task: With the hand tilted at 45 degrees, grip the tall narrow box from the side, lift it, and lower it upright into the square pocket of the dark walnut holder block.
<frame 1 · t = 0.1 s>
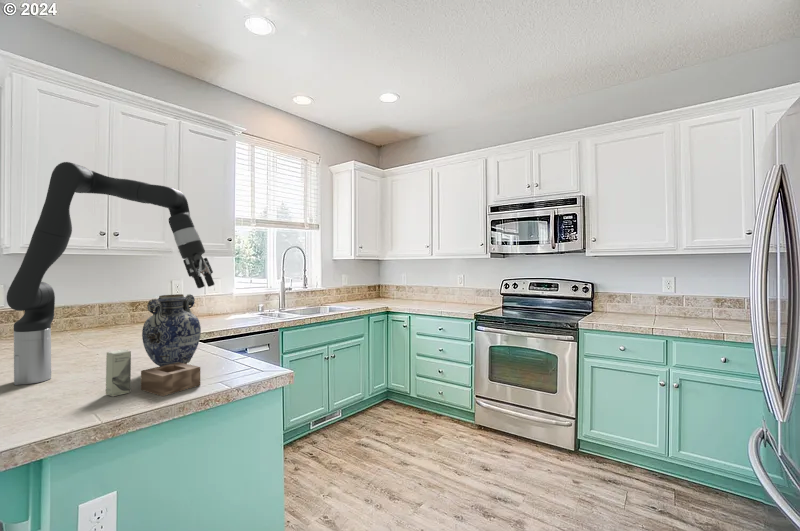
hand: (206, 286, 138), 31 cm above the countertop, tool tilted 20°, fingers open, 8 cm apart
decorative vase: (172, 371, 145), on the countertop
holder block: (171, 387, 126), on the countertop
box: (118, 394, 121), on the countertop
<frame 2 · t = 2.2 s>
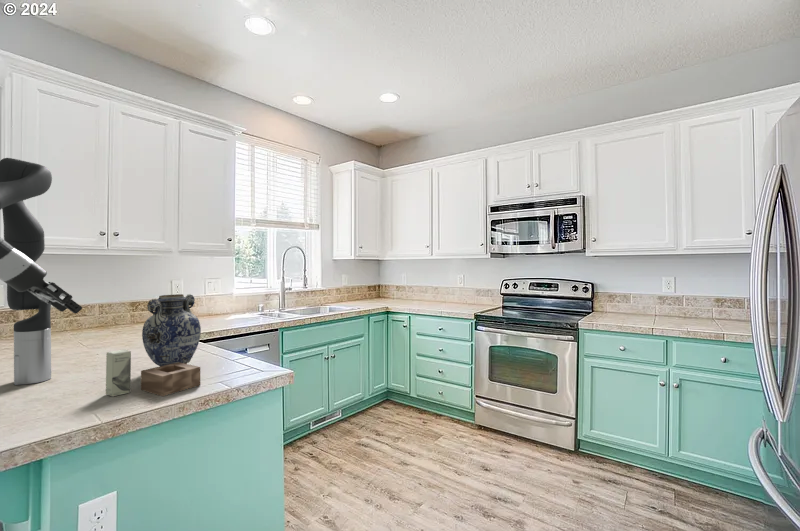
hand: (72, 310, 110), 27 cm above the countertop, tool tilted 45°, fingers open, 8 cm apart
nothing on the countertop moved.
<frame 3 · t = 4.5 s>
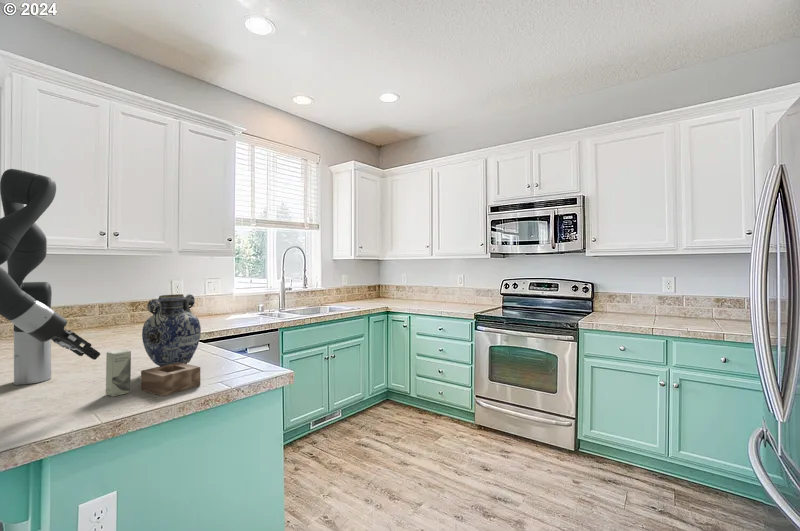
hand: (90, 355, 114), 13 cm above the countertop, tool tilted 45°, fingers open, 8 cm apart
nothing on the countertop moved.
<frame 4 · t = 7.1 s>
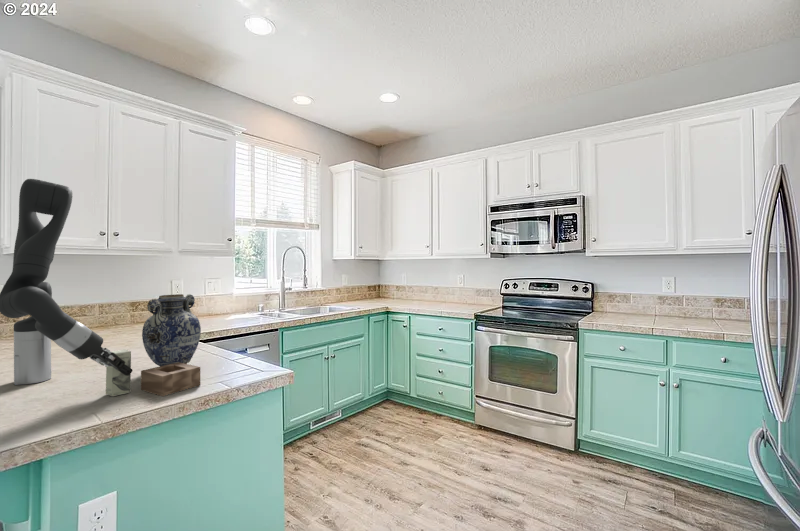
hand: (125, 371, 122), 6 cm above the countertop, tool tilted 45°, fingers closed on box, 4 cm apart
box: (118, 394, 121), on the countertop, touching gripper
everything else where it was.
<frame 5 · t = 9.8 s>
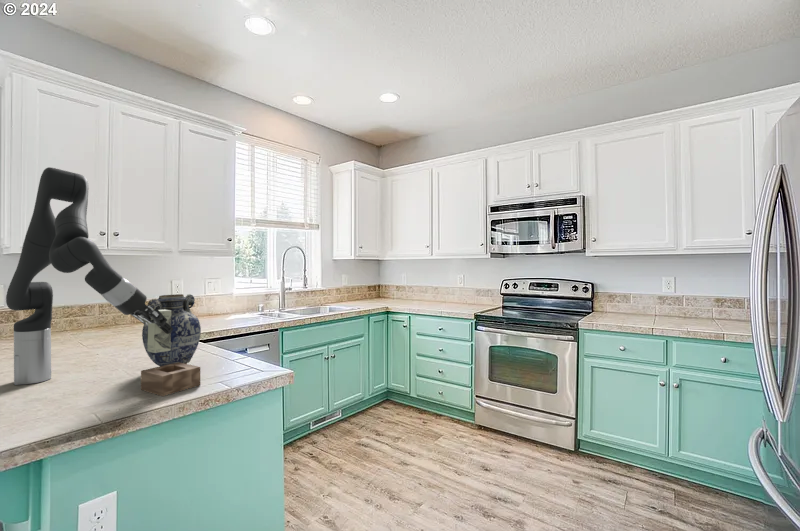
hand: (166, 330, 126), 18 cm above the countertop, tool tilted 45°, fingers closed on box, 4 cm apart
box: (159, 351, 124), point 12 cm above the countertop, touching gripper
everything else where it was.
when the fingers open (9 cm above the countertop, at t = 12.6 s): box drops 2 cm, resting on holder block.
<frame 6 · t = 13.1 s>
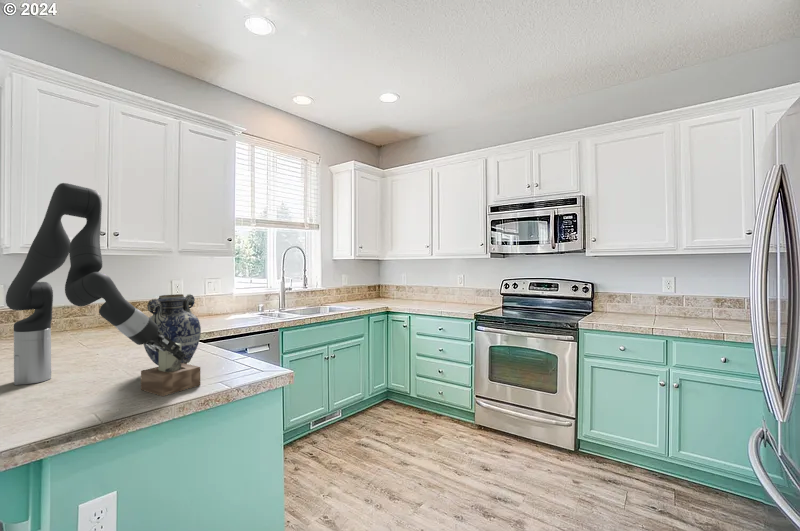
hand: (175, 356, 127), 10 cm above the countertop, tool tilted 45°, fingers open, 8 cm apart
box: (170, 385, 126), point 1 cm above the countertop, touching holder block
everything else where it was.
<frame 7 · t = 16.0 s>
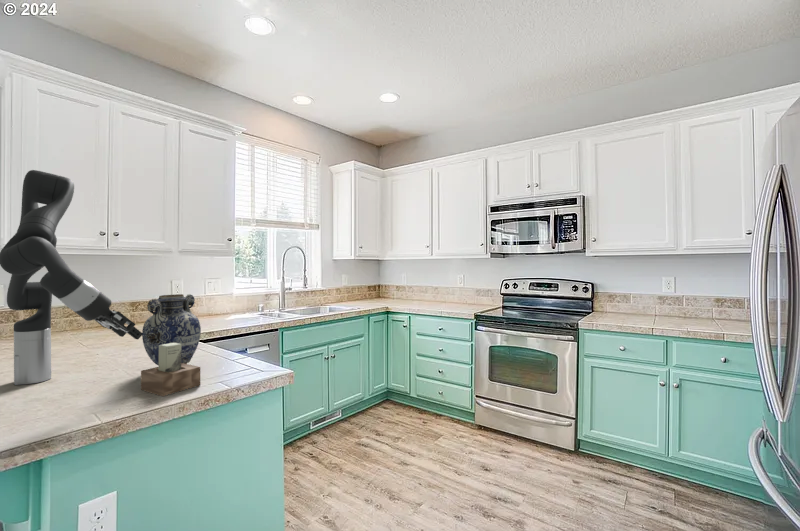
hand: (132, 335, 116), 18 cm above the countertop, tool tilted 45°, fingers open, 8 cm apart
nothing on the countertop moved.
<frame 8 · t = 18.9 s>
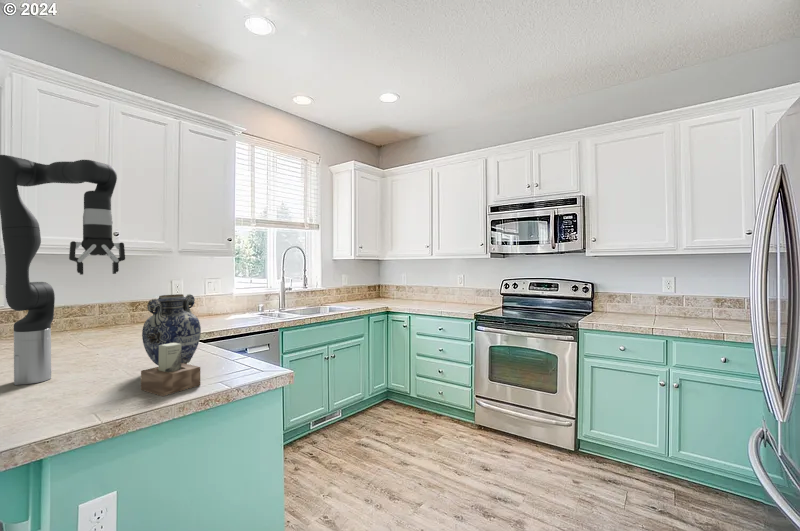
hand: (98, 274, 128), 36 cm above the countertop, tool pointing down, fingers open, 8 cm apart
nothing on the countertop moved.
at the end: box 0.3 cm from the holder block (horizontally); box point 0.8 cm above the countertop; box tilted 0° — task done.
